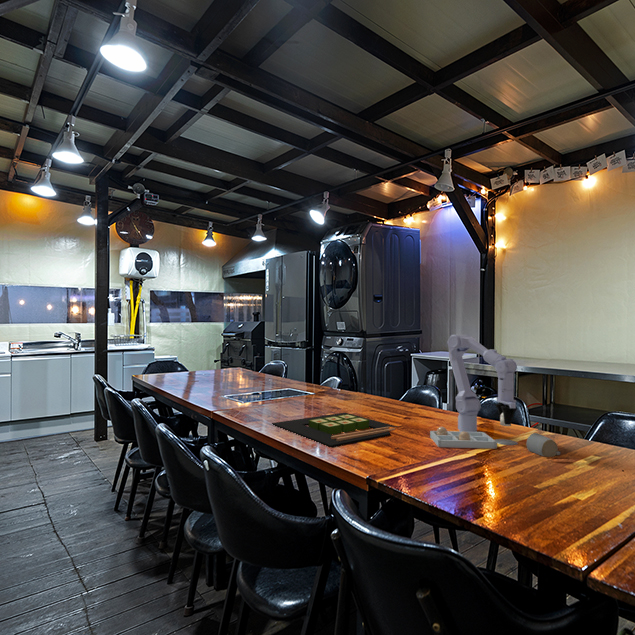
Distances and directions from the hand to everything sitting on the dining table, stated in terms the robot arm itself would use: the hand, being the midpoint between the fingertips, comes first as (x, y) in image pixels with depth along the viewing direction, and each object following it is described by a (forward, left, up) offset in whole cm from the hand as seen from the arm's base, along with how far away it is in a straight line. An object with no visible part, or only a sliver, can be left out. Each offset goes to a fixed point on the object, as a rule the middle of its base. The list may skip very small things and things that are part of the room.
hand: (505, 423), depth 171 cm
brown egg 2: (+6, -18, -8) cm, 20 cm away
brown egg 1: (-1, -25, -8) cm, 26 cm away
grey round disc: (0, 0, -9) cm, 9 cm away
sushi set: (-21, -67, -10) cm, 71 cm away
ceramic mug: (+14, +9, -9) cm, 19 cm away
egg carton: (+2, -18, -9) cm, 20 cm away
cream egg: (0, 0, -1) cm, 1 cm away
